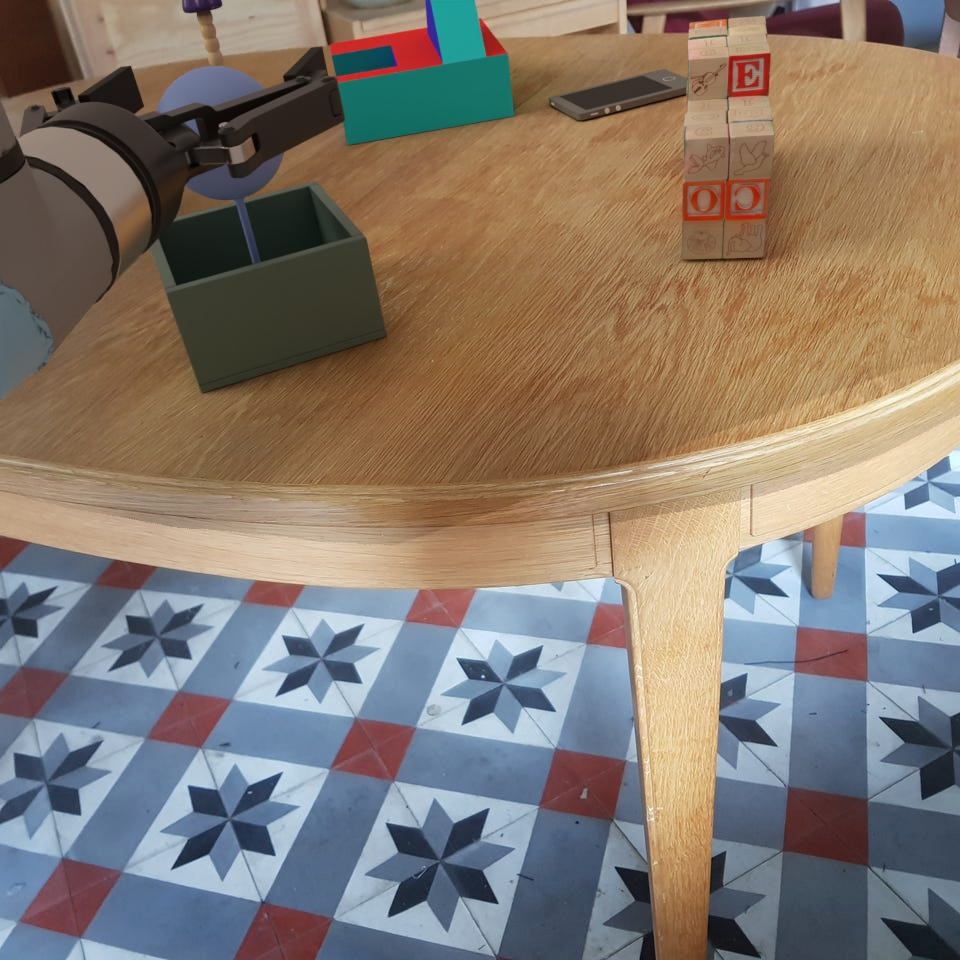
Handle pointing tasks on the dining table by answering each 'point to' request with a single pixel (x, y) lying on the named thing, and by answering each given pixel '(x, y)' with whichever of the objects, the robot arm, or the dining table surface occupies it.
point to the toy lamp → (206, 26)
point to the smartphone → (620, 94)
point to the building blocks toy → (423, 76)
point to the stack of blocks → (727, 140)
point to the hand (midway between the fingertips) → (225, 77)
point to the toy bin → (268, 285)
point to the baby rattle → (210, 90)
